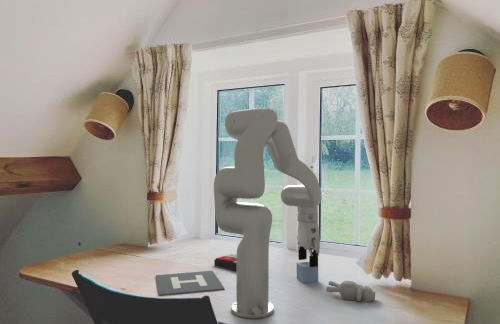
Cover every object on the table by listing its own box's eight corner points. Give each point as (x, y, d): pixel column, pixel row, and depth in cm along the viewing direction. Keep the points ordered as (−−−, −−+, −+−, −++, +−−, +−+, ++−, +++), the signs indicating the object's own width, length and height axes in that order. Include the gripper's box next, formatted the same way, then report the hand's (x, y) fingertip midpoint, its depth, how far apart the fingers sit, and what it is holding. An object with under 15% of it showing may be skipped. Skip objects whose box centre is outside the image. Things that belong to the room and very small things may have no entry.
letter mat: (224, 289, 129) (224, 288, 129) (158, 296, 123) (158, 294, 123) (212, 271, 150) (212, 270, 150) (156, 276, 144) (156, 275, 144)
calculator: (231, 253, 168) (257, 256, 158) (231, 262, 168) (257, 267, 158) (213, 257, 160) (239, 262, 150) (214, 268, 160) (240, 273, 150)
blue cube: (318, 282, 138) (318, 265, 138) (303, 283, 136) (303, 267, 137) (311, 277, 144) (311, 261, 144) (296, 278, 142) (296, 262, 142)
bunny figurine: (375, 293, 115) (326, 282, 119) (373, 310, 115) (324, 298, 120) (376, 284, 123) (330, 274, 128) (374, 299, 124) (328, 288, 129)
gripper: (327, 220, 133) (328, 268, 134) (306, 213, 150) (307, 256, 150) (308, 222, 131) (308, 270, 131) (289, 214, 148) (289, 257, 148)
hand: (308, 262), depth 141 cm, fingers open, 9 cm apart
